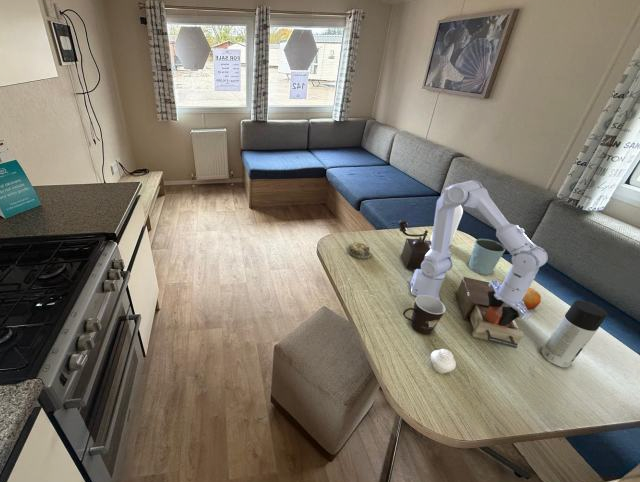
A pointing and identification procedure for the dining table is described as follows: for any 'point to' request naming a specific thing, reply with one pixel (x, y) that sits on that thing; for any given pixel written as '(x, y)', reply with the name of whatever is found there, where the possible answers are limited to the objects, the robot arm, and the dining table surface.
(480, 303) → the cabinet
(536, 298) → the fruit
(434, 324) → the coffee mug
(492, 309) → the block
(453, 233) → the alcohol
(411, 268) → the manual coffee grinder
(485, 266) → the green plant pot
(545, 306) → the dining table surface
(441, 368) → the white garlic bulb
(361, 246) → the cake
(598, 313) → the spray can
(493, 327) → the drawer
